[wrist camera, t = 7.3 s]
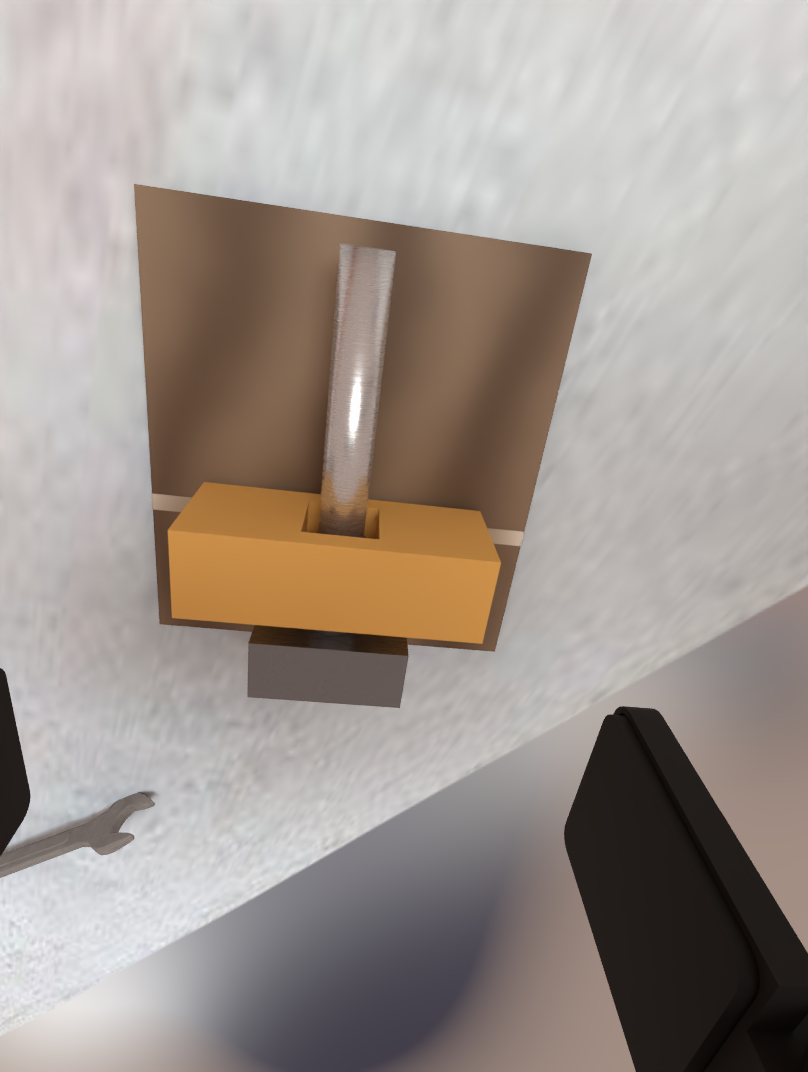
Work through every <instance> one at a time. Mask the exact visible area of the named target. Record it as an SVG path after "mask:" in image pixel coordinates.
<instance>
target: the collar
mask: <svg viewBox="0 0 808 1072" xmlns="http://www.w3.org/2000/svg"><path fill="white" fill-rule="evenodd" d="M320 499H321V494H314V493H304V492H295V491H285V490H276V489H266V488H257V487H247V486H238V485H228V484H219V483H209V482H204V483H203V484H202V485H201V487H200V488H199V489H198V491H197V492H196V493H195V495H194V496H193V497H192V499H191V500H190V501H189V503H188V504H187V505H186V507H185V508H184V509H183V511H182V512H181V513H180V515H179V516H178V517H177V519H176V520H175V521H174V522H173V524H172V525H171V526H170V528H169V529H168V546H169V567H170V588H171V609H172V618H178V619H190V620H202V621H215V622H227V623H239V624H251V625H263V626H275V627H287V628H299V629H311V630H323V631H335V632H347V633H359V634H371V635H383V636H395V637H407V638H419V639H431V640H443V641H455V642H467V643H479V644H482V643H483V639H484V635H485V630H486V626H487V622H488V617H489V613H490V609H491V604H492V600H493V596H494V591H495V587H496V583H497V578H498V574H499V570H500V565H501V561H500V558H499V556H498V554H497V551H496V549H495V546H494V544H493V541H492V539H491V536H490V534H489V531H488V529H487V527H486V524H485V522H484V519H483V517H482V514H481V512H480V511H475V510H465V509H456V508H446V507H437V506H427V505H418V504H408V503H399V502H389V501H380V500H370V499H368V505H367V514H366V523H365V532H364V536H365V537H366V538H359V537H349V536H339V535H329V534H319V533H316V532H318V526H319V513H320Z"/></svg>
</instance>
